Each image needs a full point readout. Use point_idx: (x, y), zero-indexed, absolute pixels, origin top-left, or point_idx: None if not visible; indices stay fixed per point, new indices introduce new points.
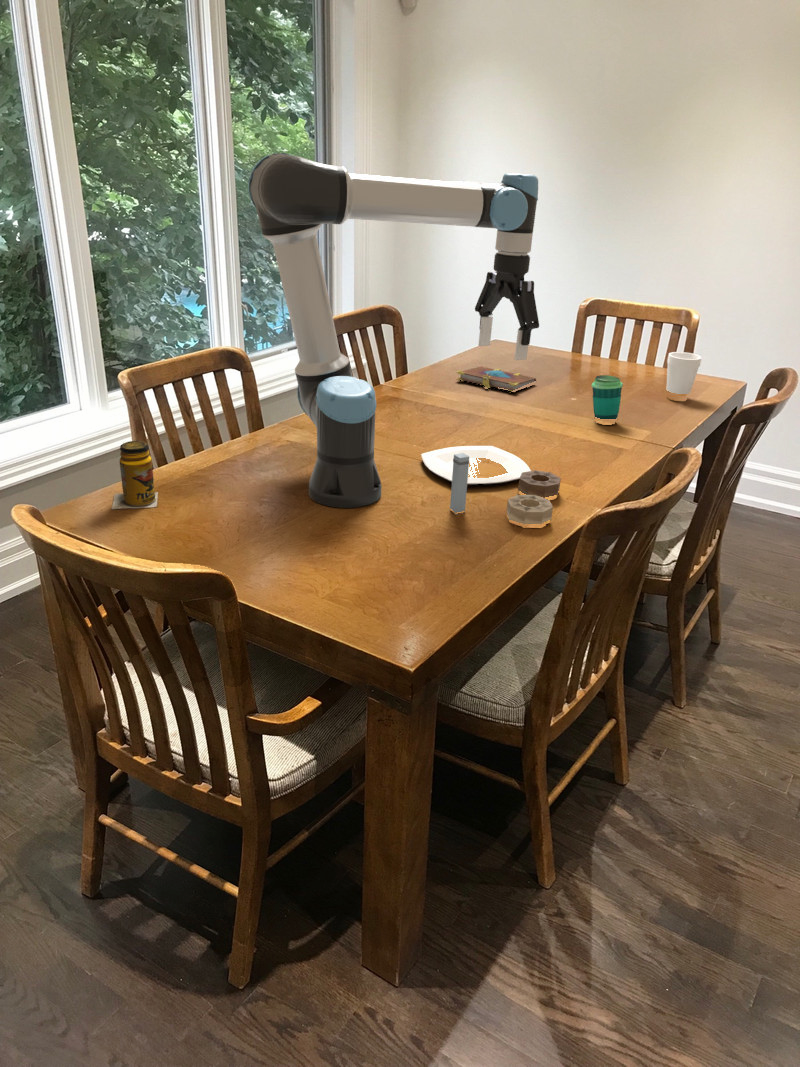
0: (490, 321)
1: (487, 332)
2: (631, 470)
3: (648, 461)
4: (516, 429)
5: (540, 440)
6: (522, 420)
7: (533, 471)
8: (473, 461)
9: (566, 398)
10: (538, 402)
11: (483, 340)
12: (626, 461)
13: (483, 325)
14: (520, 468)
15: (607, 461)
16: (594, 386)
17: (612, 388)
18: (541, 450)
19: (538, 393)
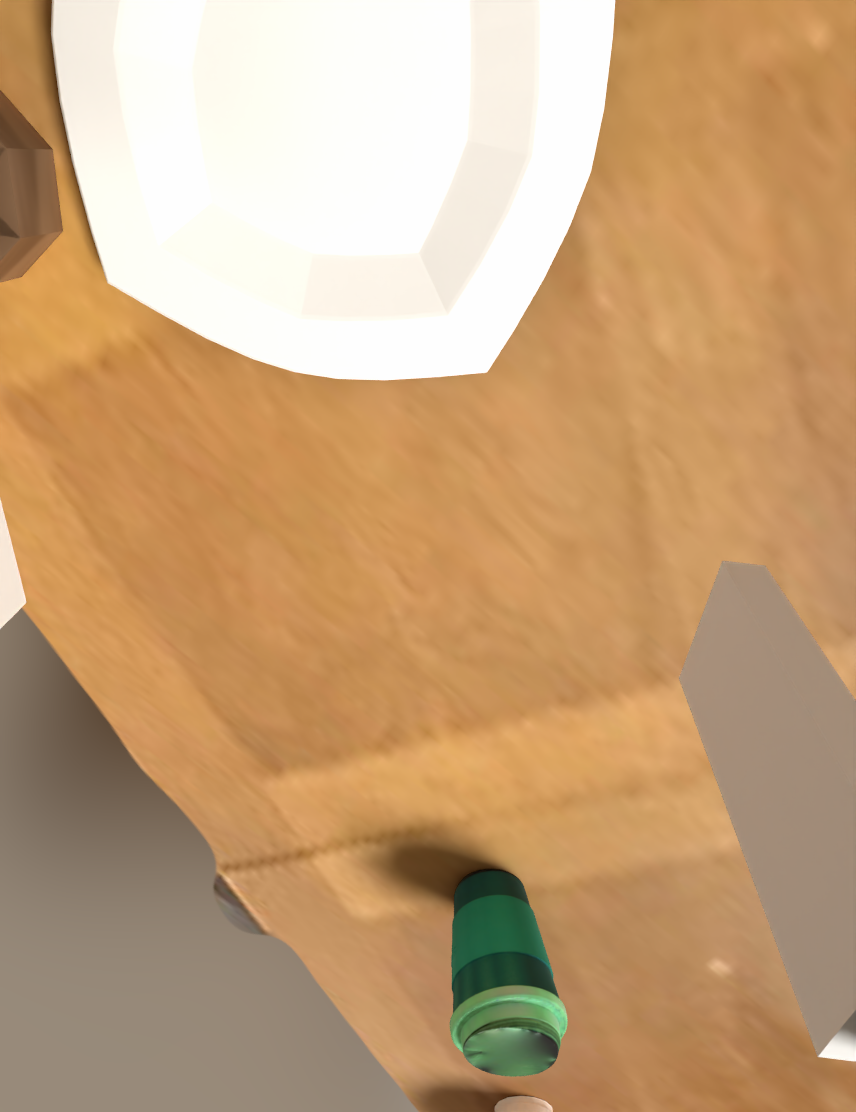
0: (799, 942)
1: (747, 758)
2: (97, 662)
3: (149, 753)
4: (630, 642)
5: (480, 629)
6: (689, 725)
7: (6, 218)
8: (409, 165)
9: (740, 959)
10: None
11: (732, 639)
12: (173, 706)
13: (832, 788)
14: (178, 273)
15: (195, 662)
16: (526, 991)
17: (458, 1008)
18: (391, 558)
19: None
